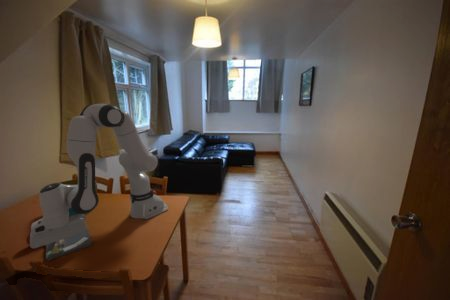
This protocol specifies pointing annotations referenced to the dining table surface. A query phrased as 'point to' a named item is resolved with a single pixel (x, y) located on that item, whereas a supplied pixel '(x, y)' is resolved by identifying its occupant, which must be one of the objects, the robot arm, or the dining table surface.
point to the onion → (28, 239)
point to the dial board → (69, 245)
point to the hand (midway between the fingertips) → (63, 246)
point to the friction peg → (57, 247)
